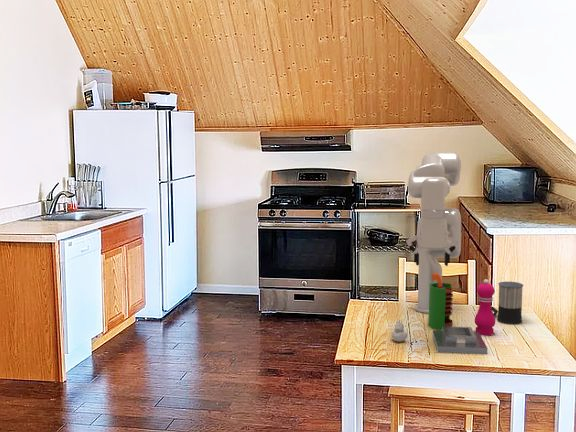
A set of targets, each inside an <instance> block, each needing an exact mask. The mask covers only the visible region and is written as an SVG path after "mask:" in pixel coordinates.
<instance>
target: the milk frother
mask: <svg viewBox="0 0 576 432" xmlns="http://www.w3.org/2000/svg"><path fill="white" fill-rule="evenodd" d="M523 287H524V284H523V283H521V282H517V281H499V282H498V305H497V306H498V309H497V308H496V307H494V306H492V305H491V308H492V312H493V315H494V317H496V316H497V318H496V321H498V323H501V324H506V325H518V324H519V325H520V324H522V322H523V320H522V319H523V316H522V313H523V312H522V311H523V308H522V307H523Z"/></svg>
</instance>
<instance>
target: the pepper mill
mask: <svg viewBox="0 0 576 432" xmlns="http://www.w3.org/2000/svg"><path fill="white" fill-rule="evenodd" d="M489 281H490V280H488V279H486V278H485V279H484V280H483V283H480V284H479V285H478V287H477V288H476V289H477V290H476V292H477V295H478V301H479V305H478V306H479V307H478V310H477V312H476V314H475V316H474V324H475V326H476V327H475V332H479V334H480V335H481V336H483V337H485V336H486V337H487V336H489V337H490V336H493V335H494V328H493V327H495V325H496V318H495V317H496V316H495V317H494V315H493V313H494V312H493V311H492V308H491V306H492V302H493V301H494V300H493V299H494V297H493V295H495V292H496V291H495V286H494V285H492V284H491V283H489Z"/></svg>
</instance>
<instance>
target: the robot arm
mask: <svg viewBox="0 0 576 432" xmlns="http://www.w3.org/2000/svg"><path fill="white" fill-rule="evenodd" d="M461 171H462V162H461V157H460V156H459V155H458V153H456V152H452V151H450V152H449V151H447V152H444V151H443V152H439V151H438V152H434V151H432V152H428V153H427V154H425V155H423V157H422V159H421V165H418V166H416V168H415V169H413V170H412V171H411V172H410V173H409V176H408V179H407V180H408V182H407V192H408V194H409V196H410V197H411V198H413V199H420V218H418V221H417V226H416V227H417V228H416V235H414V236H411V237H409V238H408V239H405V240H406V241H405V242H406V244H407V247H408V249H410V250H411V252H412V253H413V261H414V262H413V263H414V264H415V265H416V266H418V273H417V274H418V276H417V277H418V278H417V280H418V283H417V284H418V285H417V304H414V306H413V309H414V311H416V312H419V313H422V314H429V291H430V284H432V283H438V281H437V280H432V274H435V273H437V274H439V275H440V276H441V280H442V281H443V267H442V265H441V263H440V261H438V260H437V259H439V258H444V264H443V265H444V266H446V267H448V266H449V264H450V262H451V259H456V258H458V257H459V256H460V255H461V252H462V216H461V212H460V210H459V209H457V208H456V207H445V198H446V197H447V196H449V194H450V191H451V187H452V186H453V187H454V186H456V185H458V184H459V182H460V178H461V177H460V176H461ZM415 241H416V246H413V245H412V243H413V242H415Z"/></svg>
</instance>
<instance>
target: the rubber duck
mask: <svg viewBox="0 0 576 432" xmlns="http://www.w3.org/2000/svg"><path fill="white" fill-rule="evenodd" d="M404 327H405V326H404V323H403V322H402V321H400V320H397V321H396V322H395V324H394V330H392V332H391V337H392V339H393V341H395V342H396V343H402V342H405V340H406V339H407V338H408V332H407V331H405V328H404Z"/></svg>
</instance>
